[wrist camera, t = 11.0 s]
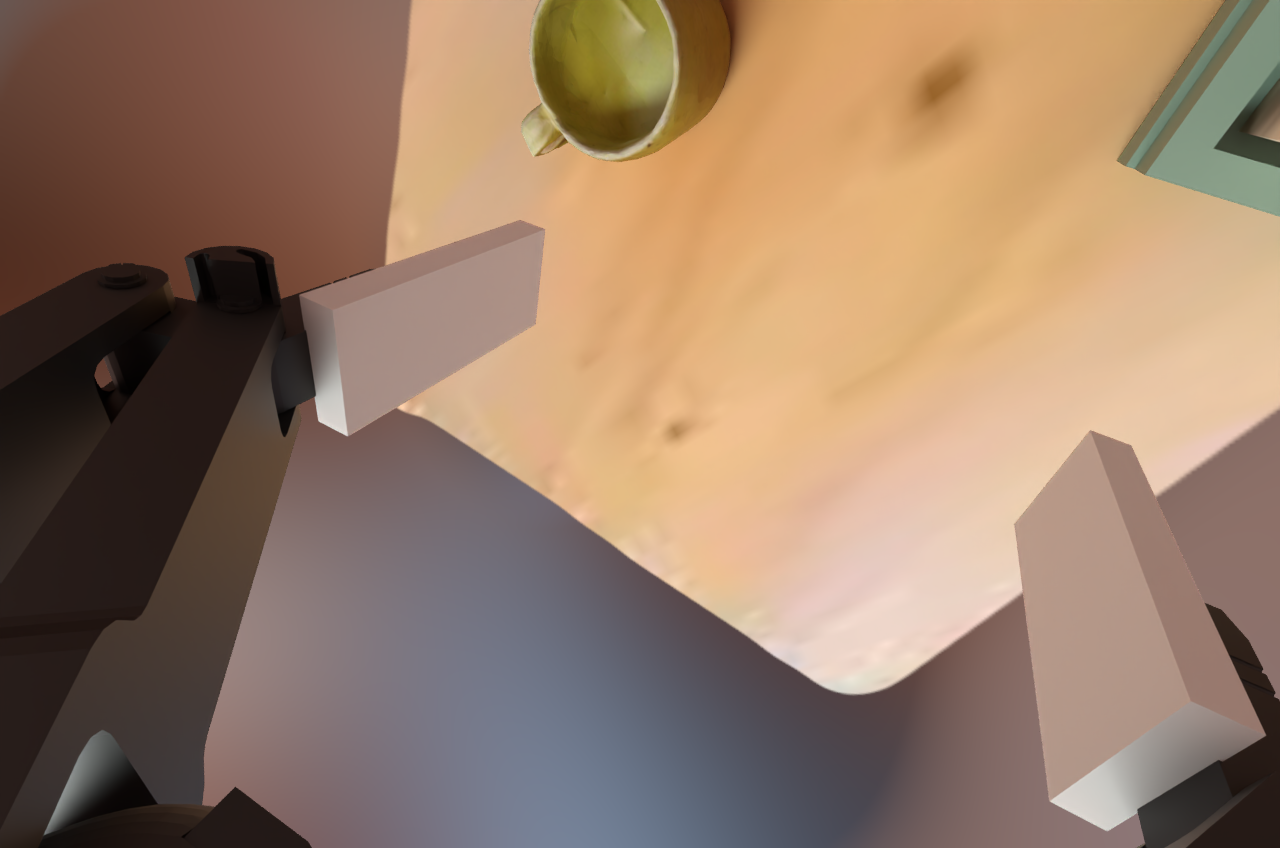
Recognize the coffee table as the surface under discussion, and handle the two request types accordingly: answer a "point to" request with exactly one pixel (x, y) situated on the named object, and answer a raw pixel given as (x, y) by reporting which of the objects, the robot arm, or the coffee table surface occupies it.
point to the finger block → (1266, 117)
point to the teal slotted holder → (1218, 112)
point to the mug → (623, 73)
